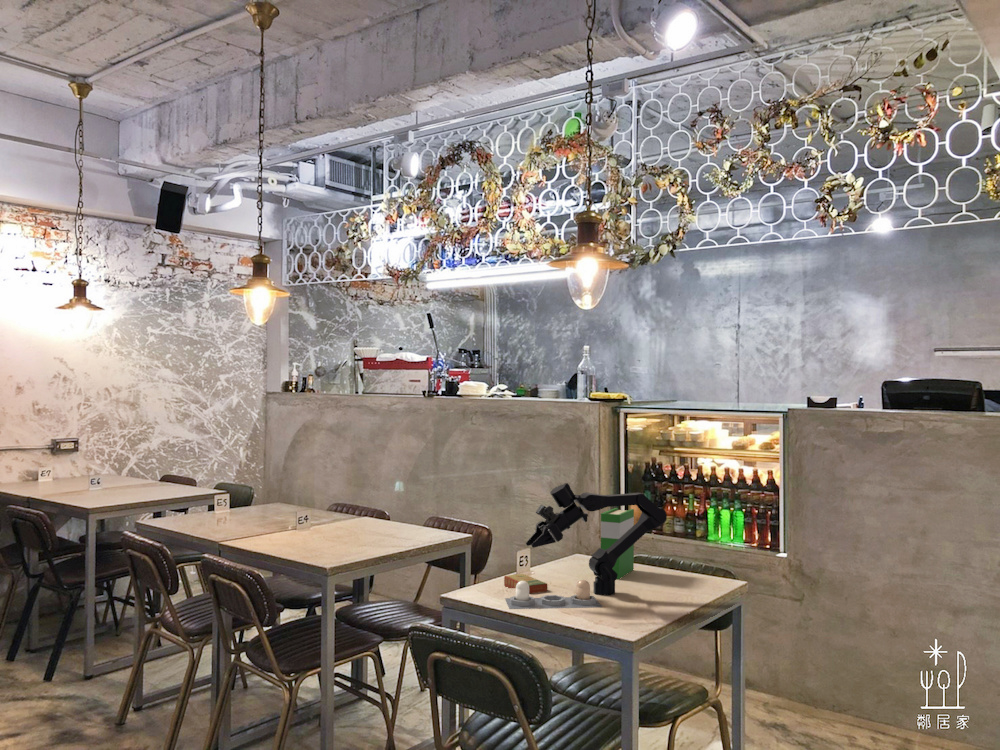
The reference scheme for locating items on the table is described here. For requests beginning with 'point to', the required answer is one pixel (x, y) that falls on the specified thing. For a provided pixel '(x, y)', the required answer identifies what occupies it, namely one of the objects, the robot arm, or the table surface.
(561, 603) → the egg stand
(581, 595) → the brown egg
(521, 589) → the cream egg
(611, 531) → the hardback book
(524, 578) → the carton
